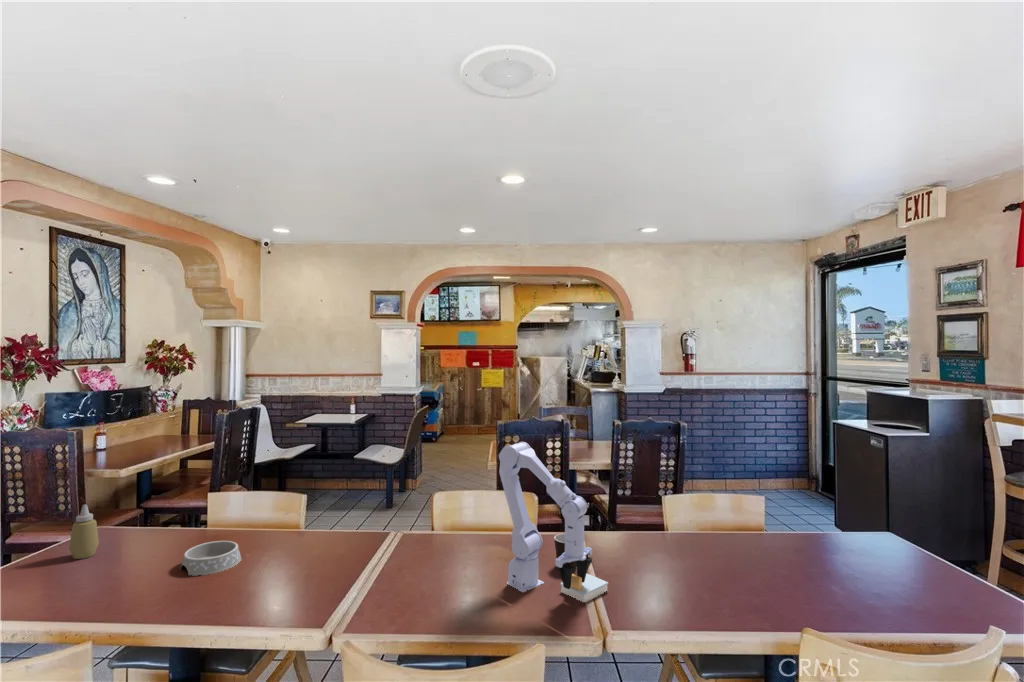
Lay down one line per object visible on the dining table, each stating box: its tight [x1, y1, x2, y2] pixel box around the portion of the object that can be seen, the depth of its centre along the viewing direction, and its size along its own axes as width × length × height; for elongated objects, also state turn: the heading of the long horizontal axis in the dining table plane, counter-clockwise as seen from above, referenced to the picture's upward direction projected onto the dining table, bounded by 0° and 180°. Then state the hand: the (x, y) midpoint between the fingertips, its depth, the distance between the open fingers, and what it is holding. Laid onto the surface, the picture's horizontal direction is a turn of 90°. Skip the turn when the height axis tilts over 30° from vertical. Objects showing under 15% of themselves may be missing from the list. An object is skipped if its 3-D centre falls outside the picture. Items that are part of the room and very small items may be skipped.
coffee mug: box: [553, 533, 577, 570], centre depth 178 cm, size 12×9×10 cm
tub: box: [560, 584, 608, 603], centre depth 159 cm, size 11×9×3 cm
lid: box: [560, 573, 609, 596], centre depth 159 cm, size 11×9×5 cm
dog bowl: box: [179, 540, 242, 577], centre depth 178 cm, size 17×18×5 cm
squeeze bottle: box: [68, 504, 100, 560], centre depth 183 cm, size 8×8×18 cm
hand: (574, 584), depth 156 cm, fingers open, 6 cm apart
